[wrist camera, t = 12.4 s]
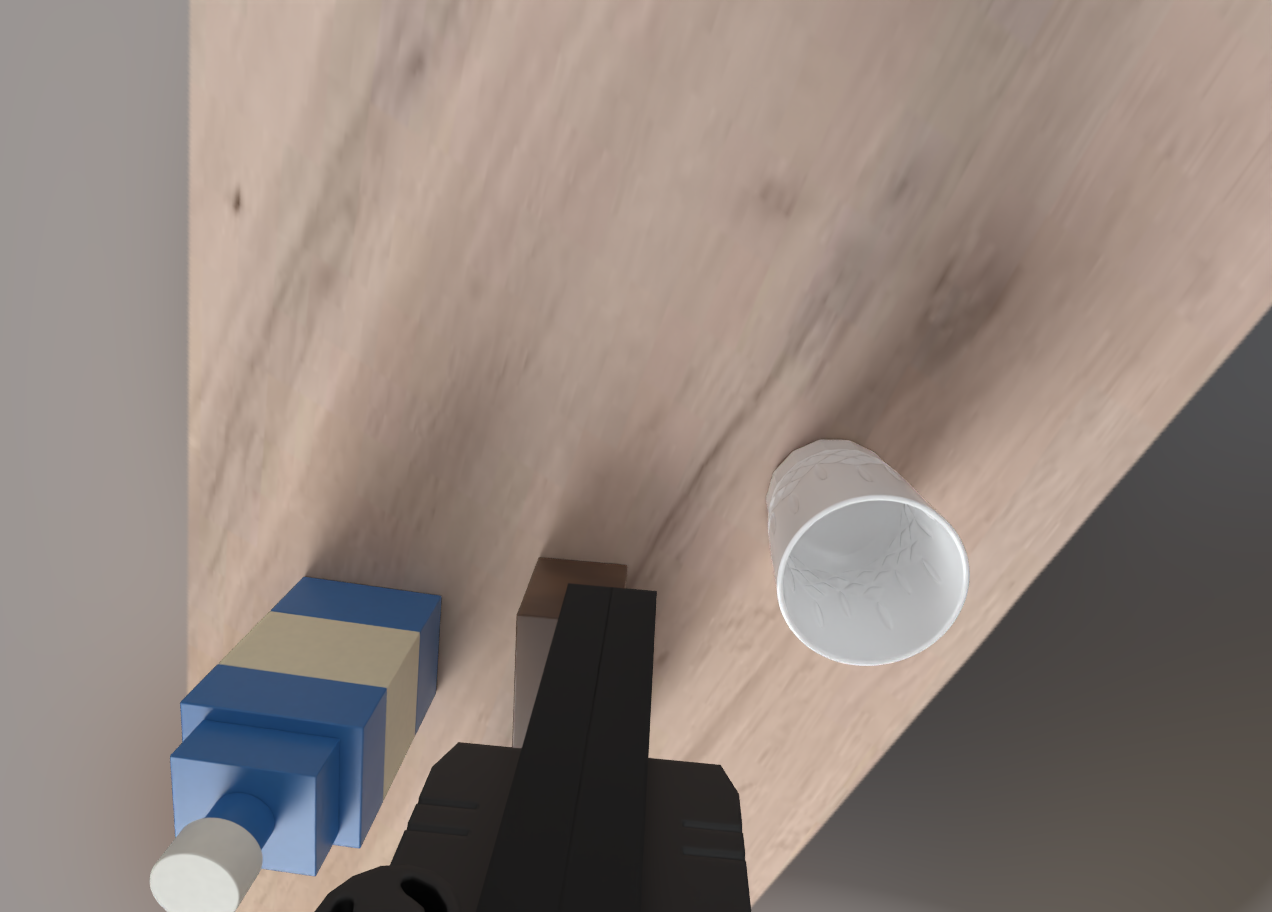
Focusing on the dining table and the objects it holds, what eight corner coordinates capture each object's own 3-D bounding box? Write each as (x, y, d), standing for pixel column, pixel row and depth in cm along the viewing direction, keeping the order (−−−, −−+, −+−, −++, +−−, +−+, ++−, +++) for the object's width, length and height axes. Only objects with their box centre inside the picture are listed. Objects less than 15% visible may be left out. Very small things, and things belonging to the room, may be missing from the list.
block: (627, 564, 44) (619, 624, 38) (613, 744, 48) (604, 825, 42) (538, 556, 45) (516, 614, 38) (531, 736, 48) (509, 816, 42)
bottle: (555, 676, 40) (170, 855, 27) (543, 785, 42) (180, 998, 29) (384, 554, 49) (43, 644, 37) (381, 647, 51) (57, 762, 39)
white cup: (788, 585, 44) (819, 692, 35) (731, 463, 42) (746, 541, 33) (925, 531, 43) (995, 626, 33) (872, 402, 41) (931, 464, 31)
